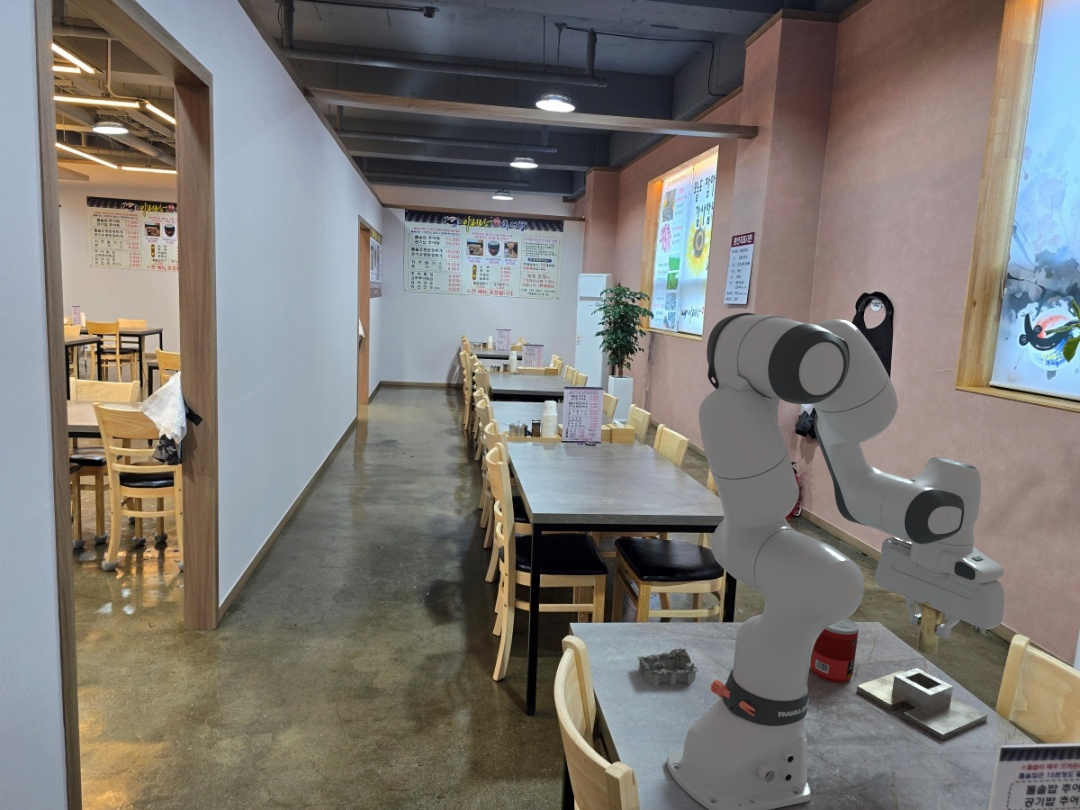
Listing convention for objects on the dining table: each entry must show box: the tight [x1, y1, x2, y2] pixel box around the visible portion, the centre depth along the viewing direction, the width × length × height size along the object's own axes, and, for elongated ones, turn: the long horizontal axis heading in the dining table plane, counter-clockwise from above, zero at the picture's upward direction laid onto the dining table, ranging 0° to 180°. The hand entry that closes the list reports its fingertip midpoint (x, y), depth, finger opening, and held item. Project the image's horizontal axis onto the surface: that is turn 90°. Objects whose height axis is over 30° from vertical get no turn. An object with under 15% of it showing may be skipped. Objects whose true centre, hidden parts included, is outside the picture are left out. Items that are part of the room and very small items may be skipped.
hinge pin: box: [916, 602, 944, 655], centre depth 117 cm, size 4×4×9 cm
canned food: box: [810, 617, 860, 684], centre depth 138 cm, size 8×8×11 cm
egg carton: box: [637, 648, 699, 687], centre depth 134 cm, size 11×8×4 cm
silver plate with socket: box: [856, 667, 988, 742], centre depth 128 cm, size 14×17×5 cm
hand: (929, 630), depth 117 cm, fingers closed on hinge pin, 3 cm apart
